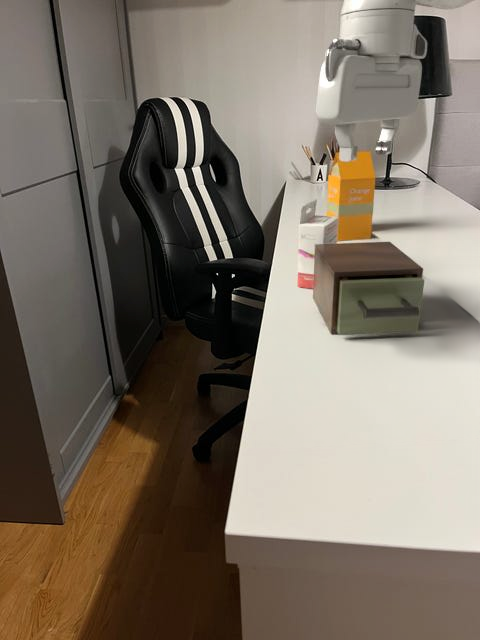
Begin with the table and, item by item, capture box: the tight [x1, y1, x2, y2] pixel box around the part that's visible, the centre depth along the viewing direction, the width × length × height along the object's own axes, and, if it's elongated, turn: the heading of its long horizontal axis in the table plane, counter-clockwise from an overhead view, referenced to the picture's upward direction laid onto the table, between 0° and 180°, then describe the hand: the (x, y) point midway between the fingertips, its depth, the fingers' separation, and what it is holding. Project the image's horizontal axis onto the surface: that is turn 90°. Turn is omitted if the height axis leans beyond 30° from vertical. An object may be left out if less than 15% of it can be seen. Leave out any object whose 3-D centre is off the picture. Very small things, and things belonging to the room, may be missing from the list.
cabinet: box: [312, 241, 424, 335], centre depth 78 cm, size 15×13×10 cm
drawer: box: [337, 274, 425, 336], centre depth 74 cm, size 18×11×8 cm, turn 3°
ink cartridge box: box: [297, 199, 339, 290], centre depth 91 cm, size 9×5×15 cm, turn 154°
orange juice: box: [326, 150, 377, 242], centre depth 120 cm, size 8×9×20 cm
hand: (366, 157), depth 68 cm, fingers open, 8 cm apart
